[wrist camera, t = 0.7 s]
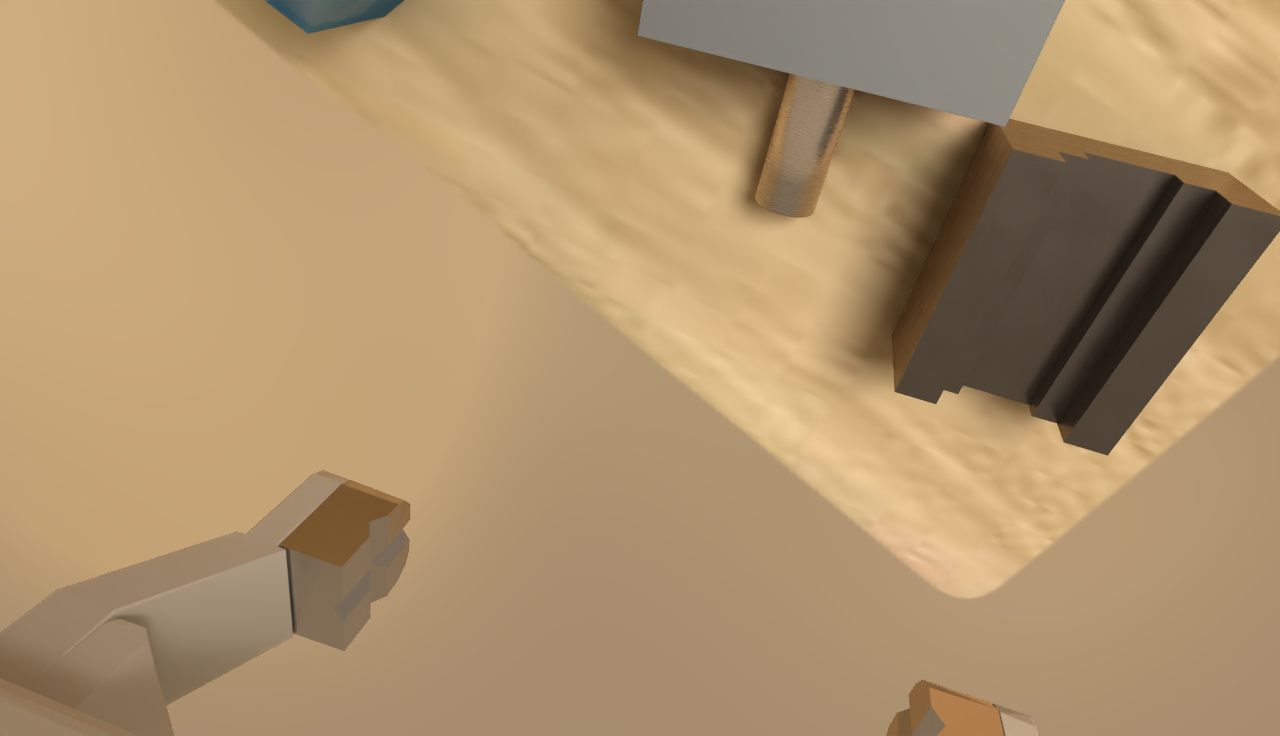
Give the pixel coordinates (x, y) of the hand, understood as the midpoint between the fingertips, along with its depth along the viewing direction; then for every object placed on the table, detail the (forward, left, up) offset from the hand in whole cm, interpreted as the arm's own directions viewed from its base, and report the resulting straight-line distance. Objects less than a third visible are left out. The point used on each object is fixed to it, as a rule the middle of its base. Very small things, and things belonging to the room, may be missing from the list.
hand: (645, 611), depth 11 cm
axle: (-3, 0, -29) cm, 29 cm away
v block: (+3, +13, -29) cm, 32 cm away
